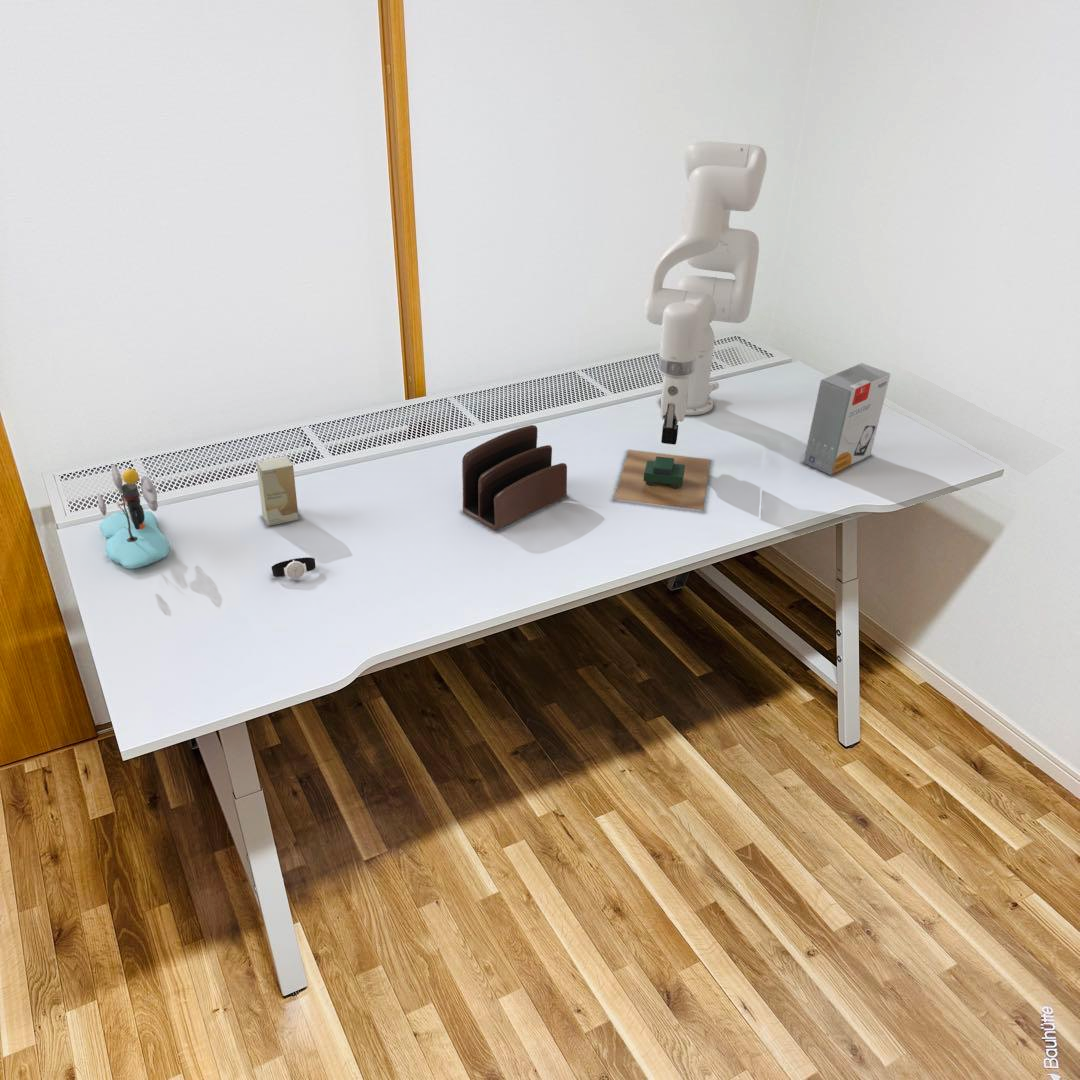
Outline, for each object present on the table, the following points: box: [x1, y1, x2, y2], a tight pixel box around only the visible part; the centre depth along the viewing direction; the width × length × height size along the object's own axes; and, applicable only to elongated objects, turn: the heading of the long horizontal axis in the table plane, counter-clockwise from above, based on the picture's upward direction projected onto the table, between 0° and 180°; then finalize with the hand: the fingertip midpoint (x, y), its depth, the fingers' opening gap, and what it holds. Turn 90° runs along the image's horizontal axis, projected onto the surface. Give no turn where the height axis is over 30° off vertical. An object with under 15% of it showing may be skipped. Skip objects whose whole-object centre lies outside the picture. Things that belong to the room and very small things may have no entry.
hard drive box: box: [803, 362, 891, 476], centre depth 213 cm, size 16×8×20 cm, turn 131°
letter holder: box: [461, 424, 568, 531], centre depth 195 cm, size 10×20×14 cm, turn 134°
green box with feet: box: [643, 456, 685, 489], centre depth 206 cm, size 8×4×6 cm
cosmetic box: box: [255, 455, 300, 526], centre depth 189 cm, size 6×4×12 cm
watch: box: [271, 556, 316, 580], centre depth 176 cm, size 8×5×4 cm, turn 114°
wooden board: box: [613, 449, 711, 512], centre depth 208 cm, size 22×18×1 cm
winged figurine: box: [97, 463, 170, 570], centre depth 179 cm, size 20×11×15 cm, turn 28°
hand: (668, 442), depth 213 cm, fingers closed
